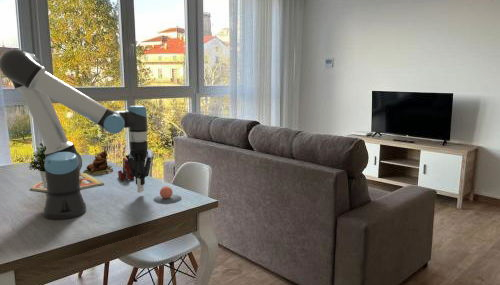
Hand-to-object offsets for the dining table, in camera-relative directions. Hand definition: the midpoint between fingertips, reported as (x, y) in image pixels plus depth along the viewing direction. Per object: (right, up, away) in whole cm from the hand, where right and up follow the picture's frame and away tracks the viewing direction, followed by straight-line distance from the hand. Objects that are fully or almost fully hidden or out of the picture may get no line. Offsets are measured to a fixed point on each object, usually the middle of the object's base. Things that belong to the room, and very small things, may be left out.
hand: (140, 191), depth 171 cm
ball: (+13, 0, -4) cm, 13 cm away
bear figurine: (-35, +5, +40) cm, 53 cm away
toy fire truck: (-15, +3, +27) cm, 31 cm away
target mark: (+13, -3, -4) cm, 14 cm away
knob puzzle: (-42, +1, +15) cm, 45 cm away
